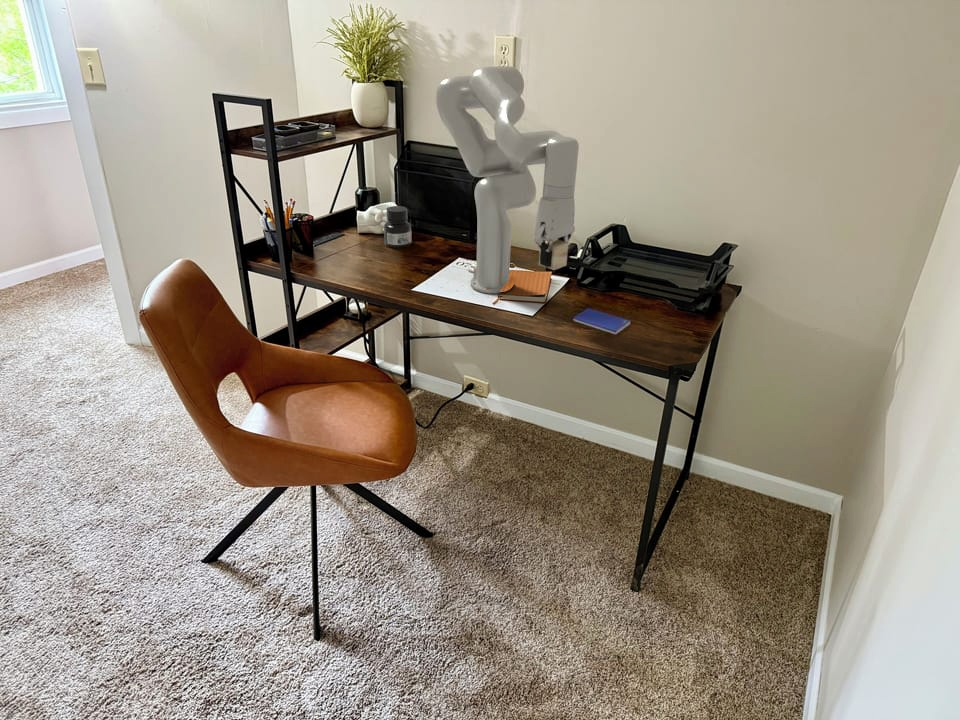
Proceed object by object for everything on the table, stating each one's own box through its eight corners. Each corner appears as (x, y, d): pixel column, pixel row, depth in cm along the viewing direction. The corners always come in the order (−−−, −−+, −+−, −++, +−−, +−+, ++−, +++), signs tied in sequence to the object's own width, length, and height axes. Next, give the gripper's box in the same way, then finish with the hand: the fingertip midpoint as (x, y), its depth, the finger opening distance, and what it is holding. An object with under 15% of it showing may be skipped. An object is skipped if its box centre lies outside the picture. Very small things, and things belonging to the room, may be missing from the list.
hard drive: (630, 320, 174) (588, 307, 180) (616, 330, 168) (573, 317, 175) (629, 325, 175) (588, 312, 181) (615, 336, 169) (573, 322, 175)
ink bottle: (388, 250, 218) (386, 214, 213) (380, 241, 225) (378, 206, 220) (416, 246, 222) (415, 211, 216) (407, 238, 229) (406, 203, 223)
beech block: (538, 264, 169) (540, 242, 167) (551, 260, 173) (552, 237, 170) (553, 270, 166) (555, 247, 164) (566, 265, 170) (568, 242, 167)
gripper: (568, 182, 168) (561, 251, 177) (523, 193, 157) (519, 266, 166) (592, 188, 164) (584, 259, 172) (548, 200, 153) (542, 275, 162)
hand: (552, 262), depth 169 cm, fingers closed on beech block, 5 cm apart
